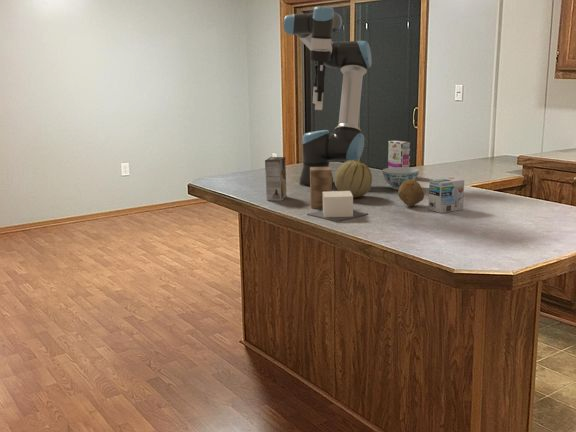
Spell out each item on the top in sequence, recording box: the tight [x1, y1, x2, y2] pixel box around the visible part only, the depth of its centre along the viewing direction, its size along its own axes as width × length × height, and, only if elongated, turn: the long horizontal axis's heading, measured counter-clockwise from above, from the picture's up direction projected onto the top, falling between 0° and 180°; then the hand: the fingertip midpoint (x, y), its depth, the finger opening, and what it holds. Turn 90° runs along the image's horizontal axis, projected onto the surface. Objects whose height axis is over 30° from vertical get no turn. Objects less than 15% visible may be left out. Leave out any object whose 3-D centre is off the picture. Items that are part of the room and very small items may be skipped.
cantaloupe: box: [333, 158, 373, 199], centre depth 241 cm, size 15×15×15 cm
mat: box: [306, 209, 369, 223], centre depth 214 cm, size 15×15×1 cm
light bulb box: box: [428, 177, 465, 214], centre depth 216 cm, size 11×7×11 cm, turn 117°
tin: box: [309, 166, 333, 209], centre depth 228 cm, size 8×8×14 cm
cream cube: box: [322, 190, 354, 217], centre depth 213 cm, size 10×10×7 cm
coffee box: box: [264, 156, 287, 202], centre depth 243 cm, size 9×6×16 cm
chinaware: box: [382, 167, 420, 190], centre depth 257 cm, size 15×15×8 cm
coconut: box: [397, 179, 425, 207], centre depth 224 cm, size 9×9×10 cm
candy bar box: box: [387, 140, 411, 168], centre depth 284 cm, size 11×5×16 cm, turn 25°
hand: (317, 106), depth 238 cm, fingers open, 13 cm apart
